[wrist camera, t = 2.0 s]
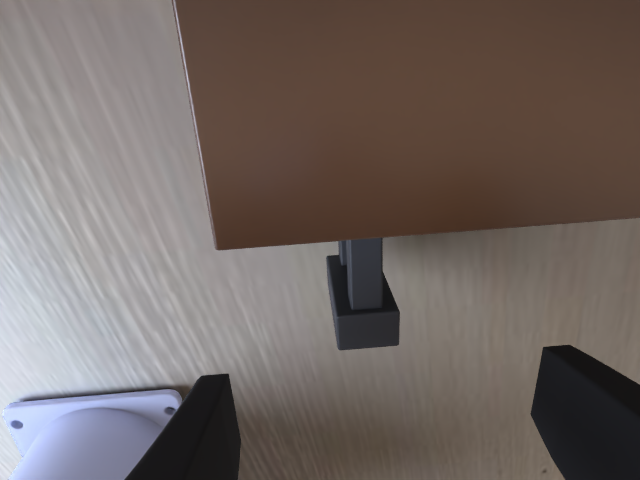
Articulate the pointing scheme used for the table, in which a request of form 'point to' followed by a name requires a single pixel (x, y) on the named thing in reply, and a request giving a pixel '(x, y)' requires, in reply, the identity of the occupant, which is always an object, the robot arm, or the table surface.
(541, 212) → the cupboard
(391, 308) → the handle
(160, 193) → the table surface
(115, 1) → the table surface
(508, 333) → the table surface
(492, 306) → the table surface
